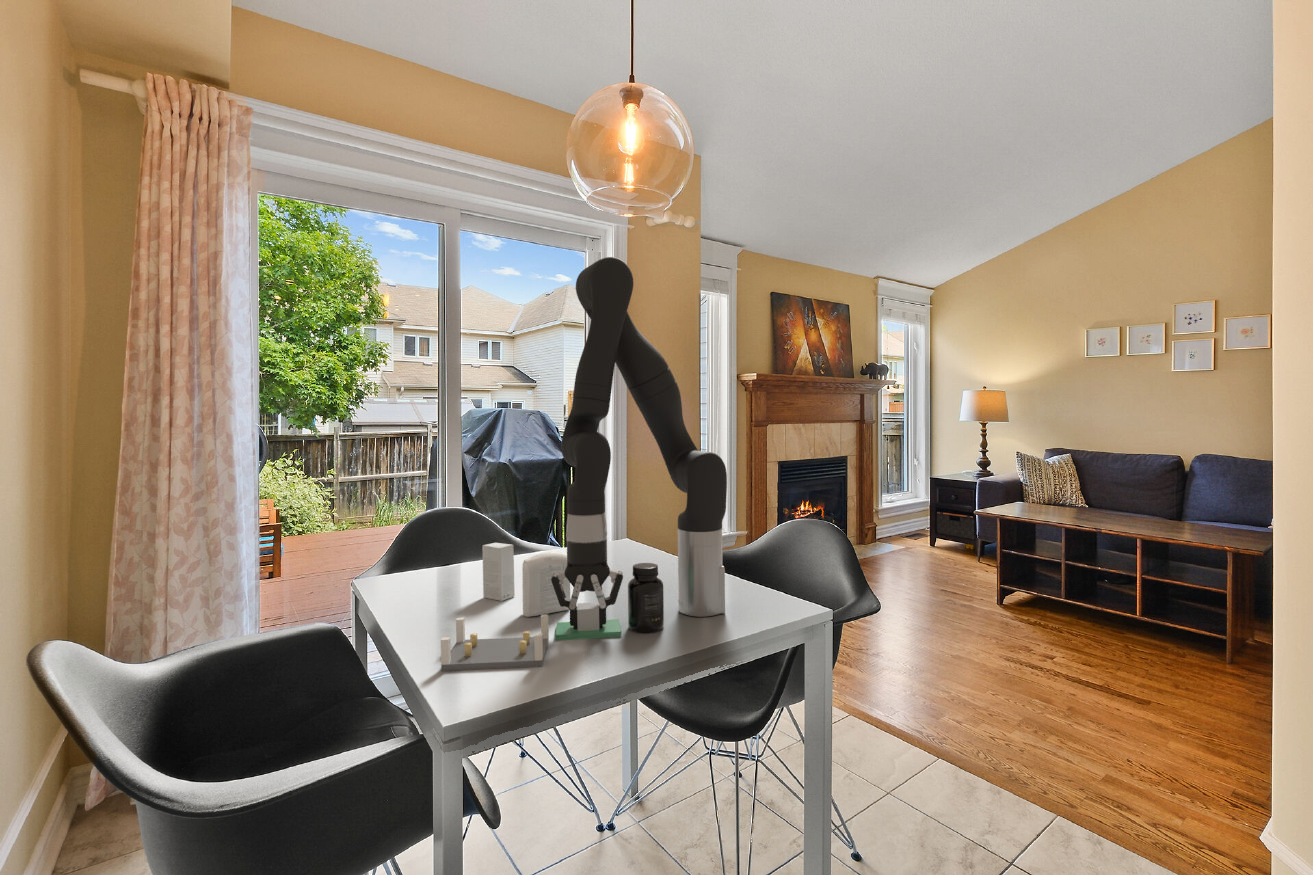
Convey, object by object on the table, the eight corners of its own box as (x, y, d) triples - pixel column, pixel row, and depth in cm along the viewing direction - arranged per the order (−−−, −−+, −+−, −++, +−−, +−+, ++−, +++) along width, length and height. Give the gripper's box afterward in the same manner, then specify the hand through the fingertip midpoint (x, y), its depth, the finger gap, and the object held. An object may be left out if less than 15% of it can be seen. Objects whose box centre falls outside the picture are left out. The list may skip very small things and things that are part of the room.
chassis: (548, 641, 110) (548, 614, 109) (542, 666, 99) (541, 635, 98) (458, 645, 108) (457, 617, 108) (441, 670, 97) (440, 639, 97)
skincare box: (515, 596, 138) (514, 544, 138) (501, 601, 134) (500, 547, 134) (496, 592, 141) (495, 541, 141) (482, 597, 138) (481, 545, 137)
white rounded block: (565, 604, 131) (564, 548, 131) (573, 610, 128) (572, 551, 127) (519, 613, 126) (518, 554, 125) (527, 619, 122) (526, 558, 122)
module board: (619, 624, 119) (618, 598, 119) (621, 636, 112) (620, 610, 112) (557, 627, 117) (556, 601, 117) (555, 640, 110) (555, 613, 110)
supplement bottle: (667, 622, 119) (666, 562, 119) (659, 634, 112) (658, 570, 112) (634, 620, 121) (633, 560, 120) (623, 632, 114) (622, 568, 114)
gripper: (624, 532, 118) (625, 619, 119) (550, 534, 117) (551, 622, 118) (625, 539, 111) (626, 632, 111) (546, 541, 110) (548, 635, 110)
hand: (588, 626), depth 115 cm, fingers closed on module board, 4 cm apart
